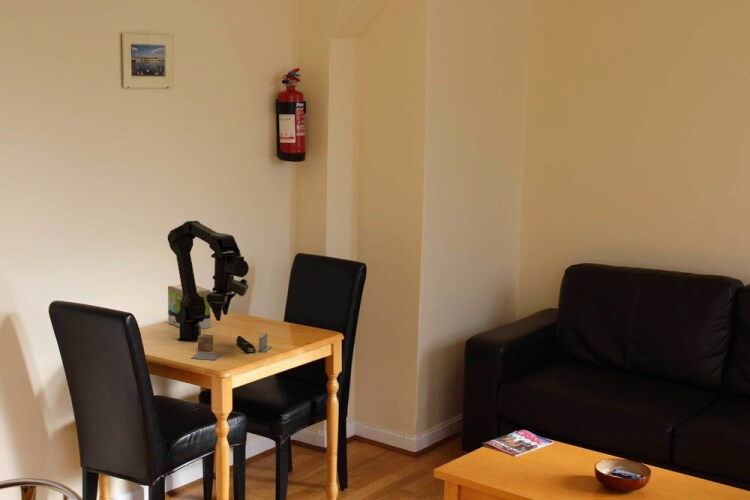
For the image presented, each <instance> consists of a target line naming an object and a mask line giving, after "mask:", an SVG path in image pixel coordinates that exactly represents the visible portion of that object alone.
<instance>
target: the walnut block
mask: <svg viewBox="0 0 750 500" xmlns="http://www.w3.org/2000/svg"><path fill="white" fill-rule="evenodd" d="M213 350H214V334H203V333H201V335H200V336H198V340H197V352H207V353H211V351H213Z"/></svg>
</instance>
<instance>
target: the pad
mask: <svg viewBox="0 0 750 500" xmlns="http://www.w3.org/2000/svg"><path fill="white" fill-rule="evenodd" d="M222 355H223V353H219V352H201V351H197V353H195V354H194V355H193V356H191V357H190V359H191V360H200V361H201V360H204V361H216V360H217V359H219V358H220V357H222Z"/></svg>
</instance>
